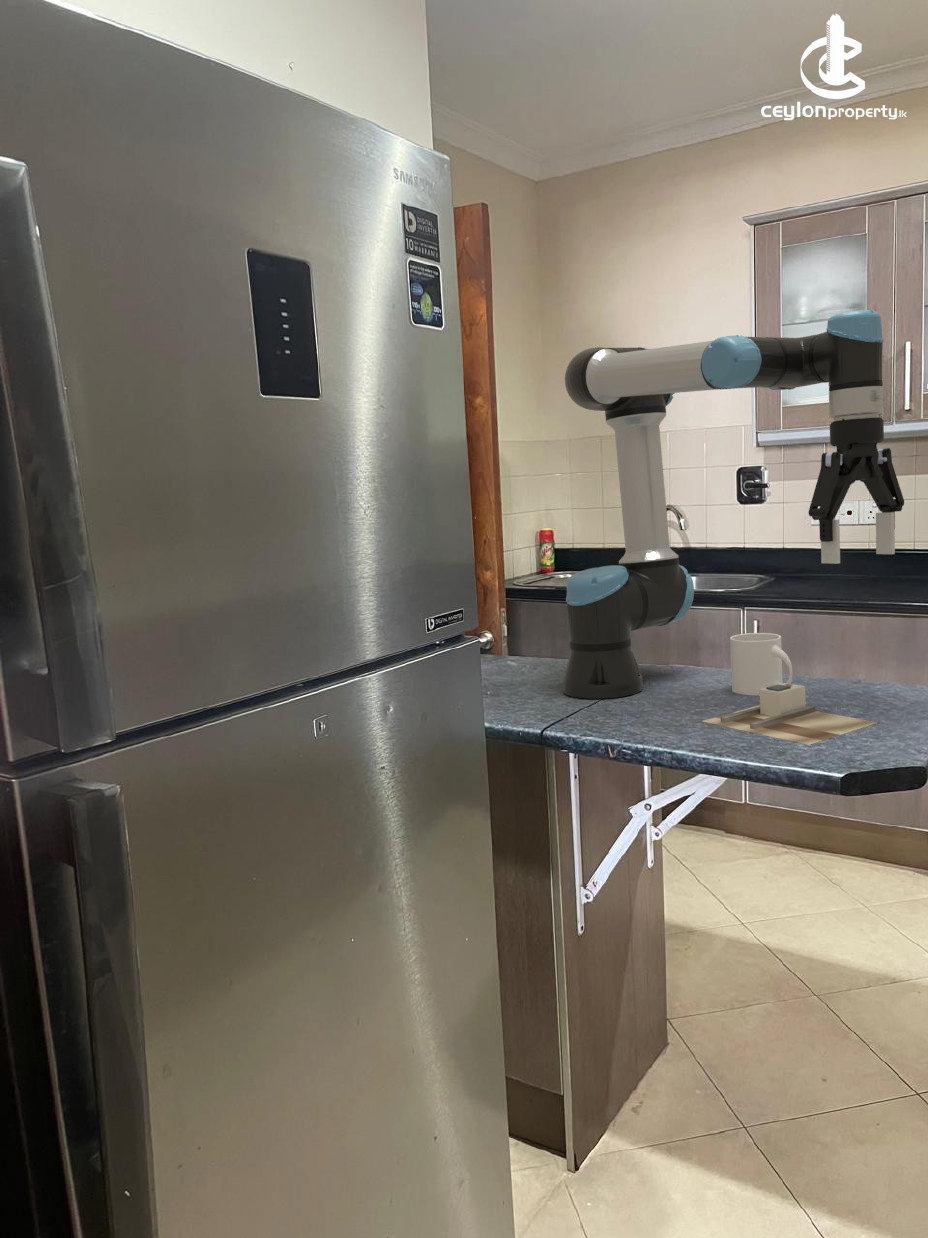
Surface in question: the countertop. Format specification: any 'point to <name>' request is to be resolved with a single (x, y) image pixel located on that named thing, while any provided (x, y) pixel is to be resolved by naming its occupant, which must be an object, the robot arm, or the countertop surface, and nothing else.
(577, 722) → the countertop surface
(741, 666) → the mug
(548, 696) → the countertop surface
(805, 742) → the subfloor panel
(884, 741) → the countertop surface
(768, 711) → the block
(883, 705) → the countertop surface
